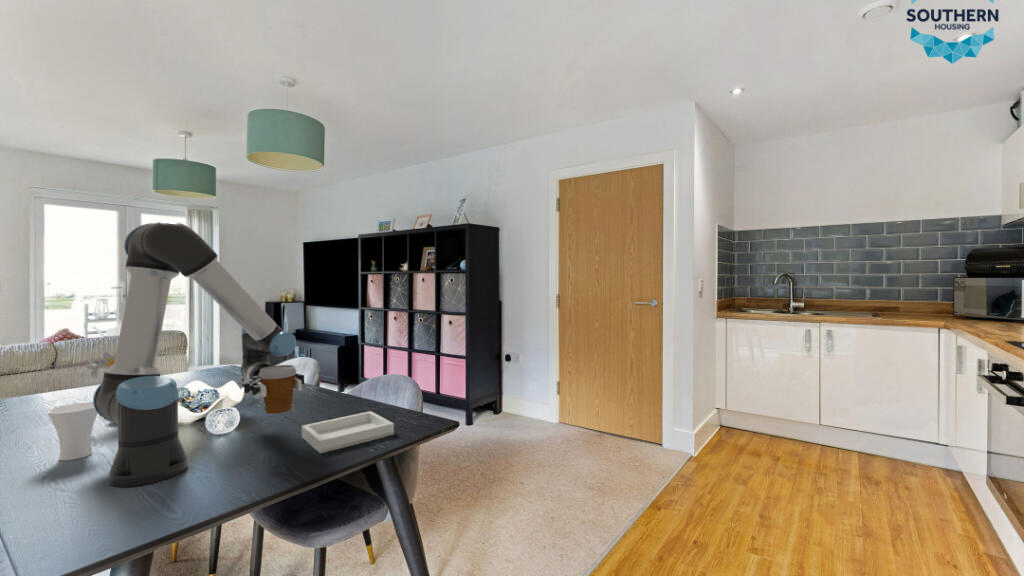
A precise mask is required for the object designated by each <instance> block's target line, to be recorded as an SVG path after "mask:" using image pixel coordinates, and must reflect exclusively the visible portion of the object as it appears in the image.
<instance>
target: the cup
mask: <svg viewBox="0 0 1024 576" xmlns="http://www.w3.org/2000/svg"><path fill="white" fill-rule="evenodd" d="M46 413H47V415H48V417H49V419H50V420H51V423H52V425H53V426H54V429H55V431H56V434H57V436H58V441H59V448H60V449H59V450H60V451H59V458H58V459H59V460H60V461H63V462H64V461H73V460H79V459H83V458H85V457H88V456H91V455H92V454H93V449H92V434H93V428H94V424H95V421H96V419H97V415H98V413H97V411H96V410H95V408H94V405H93V401H92V402H91V401H90V402H79V403H78V402H77V403H71V404H66V405H61V406H58V407H54V408H51V409H49V410H48V411H47V412H46Z"/></svg>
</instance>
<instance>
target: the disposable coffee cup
mask: <svg viewBox="0 0 1024 576" xmlns="http://www.w3.org/2000/svg"><path fill="white" fill-rule="evenodd" d="M296 373H297V369H296V366H295V365H292V364H282V365H277V364H276V365H272V366H270V367H265V368H262V369H260V373H259V374H258V375H259V377H260V379H261V383H262V384H264V385H265V386H266V397H263V401H264V407H265V413H267V414H270V415H271V414H272V415H273V414H283V413H287V412H289V411H291V410H292V405H293V396H294V389H295V388H294V378H295V374H296Z"/></svg>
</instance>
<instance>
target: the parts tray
mask: <svg viewBox="0 0 1024 576" xmlns="http://www.w3.org/2000/svg"><path fill="white" fill-rule="evenodd" d="M394 435H395V423H394V422H392V421H390V420H388V419H387V418H384V417H382V416H381V415H379V414H377V413H375V412H373V411H366V412H360V413H356V414H350V415H346V416H341V417H337V418H333V419H326V420H322V421H319V422H318V421H317V422H314V423H309V424H303V425H301V438H302V439H303V440H305V441H306V442H307V443H308V444H309V445H310V446H311V447H312V448H313V449H314V450H316V452H318V453H319V454H323V453H327V452H328V453H329V452H331V451H335V450H340V449H343V448H347V447H351V446H355V445H358V444H364V443H366V442H370V441H374V440H378V439H382V438H385V437H389V436H394Z"/></svg>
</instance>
